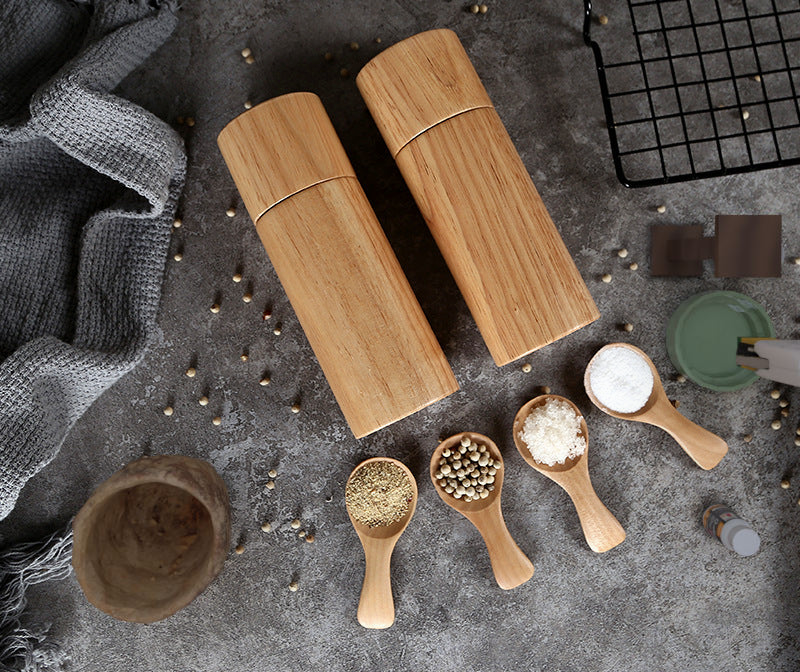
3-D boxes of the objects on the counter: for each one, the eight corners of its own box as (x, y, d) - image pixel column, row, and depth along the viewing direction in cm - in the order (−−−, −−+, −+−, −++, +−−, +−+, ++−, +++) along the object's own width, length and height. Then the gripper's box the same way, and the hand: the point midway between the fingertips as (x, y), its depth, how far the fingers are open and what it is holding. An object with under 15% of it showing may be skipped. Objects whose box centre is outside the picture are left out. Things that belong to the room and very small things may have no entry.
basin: (761, 290, 116) (776, 291, 112) (760, 386, 117) (775, 391, 112) (664, 290, 116) (675, 290, 112) (664, 386, 117) (674, 391, 112)
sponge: (766, 336, 98) (794, 342, 91) (765, 366, 98) (794, 373, 91) (736, 336, 98) (763, 342, 91) (736, 366, 98) (762, 373, 91)
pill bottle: (697, 509, 117) (724, 532, 107) (726, 499, 117) (757, 520, 107) (707, 538, 117) (735, 564, 107) (736, 528, 117) (768, 552, 107)
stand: (699, 225, 116) (782, 214, 91) (699, 275, 116) (781, 277, 91) (650, 225, 116) (719, 214, 91) (650, 275, 116) (718, 277, 91)
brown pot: (261, 547, 117) (223, 624, 92) (139, 554, 117) (68, 632, 92) (254, 425, 117) (214, 468, 92) (132, 431, 117) (59, 476, 92)
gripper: (911, 343, 78) (813, 328, 96) (773, 342, 78) (701, 327, 96) (910, 404, 78) (812, 377, 96) (772, 404, 78) (701, 377, 96)
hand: (757, 352), depth 96 cm, fingers closed on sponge, 4 cm apart
